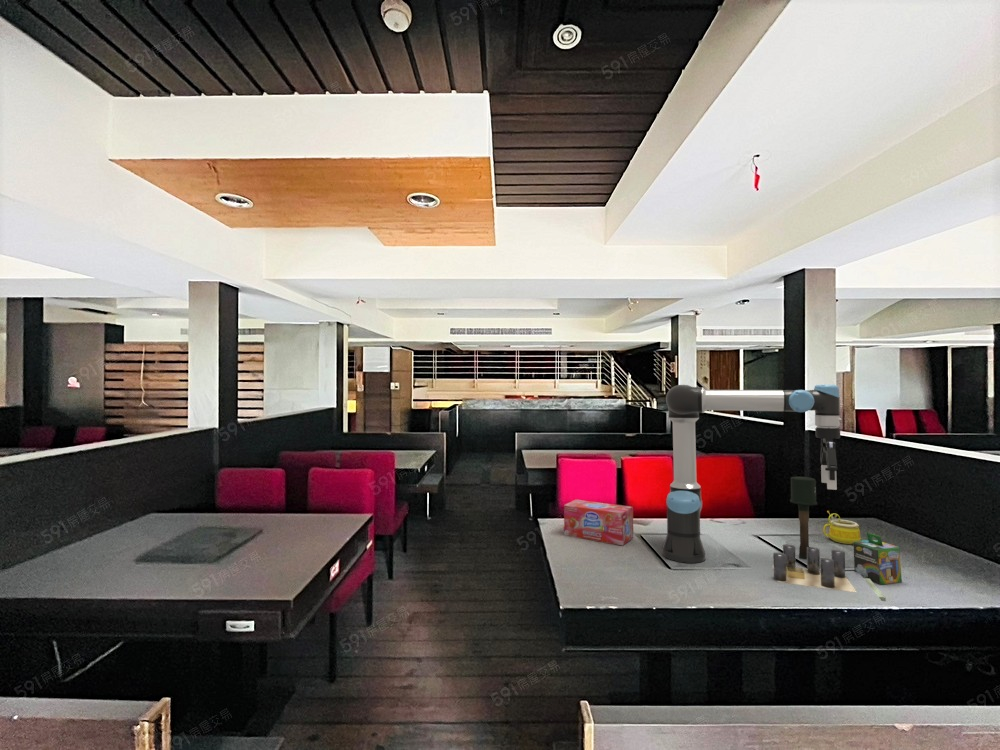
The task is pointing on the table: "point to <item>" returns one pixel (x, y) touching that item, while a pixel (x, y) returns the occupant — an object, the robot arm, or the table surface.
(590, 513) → the box
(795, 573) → the tan wooden tile
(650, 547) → the table surface
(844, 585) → the board
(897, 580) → the chalk box
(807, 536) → the potato masher grenade
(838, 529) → the mug
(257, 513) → the table surface
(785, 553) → the spacers
